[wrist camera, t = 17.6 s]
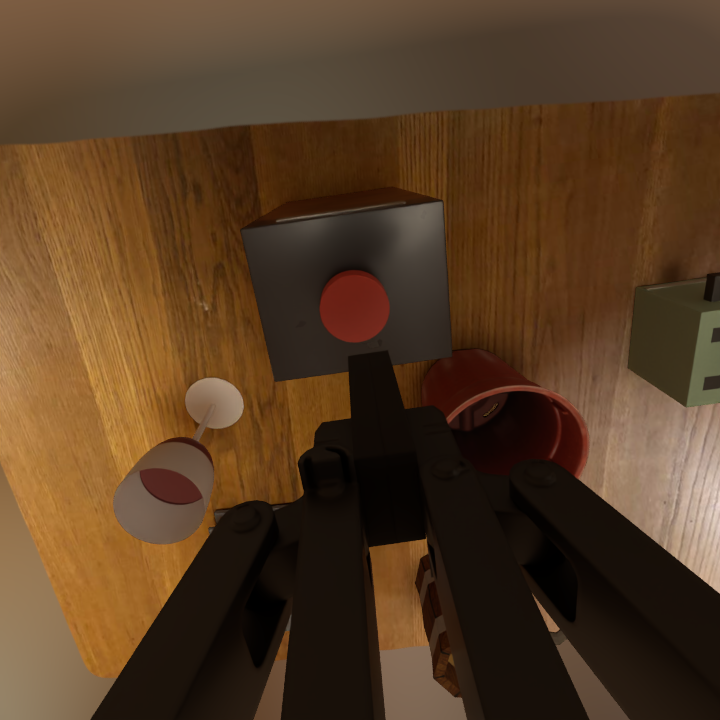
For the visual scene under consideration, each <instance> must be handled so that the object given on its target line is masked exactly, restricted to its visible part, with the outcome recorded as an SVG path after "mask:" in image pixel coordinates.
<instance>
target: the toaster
mask: <svg viewBox="0 0 720 720" xmlns="http://www.w3.org/2000/svg"><path fill="white" fill-rule="evenodd" d="M628 368H629V369H630V370H632V371H633V372H634V373H636V374H637V375H639V376H640V377H642V378H643V379H645V380H646V381H648V382H649V383H651V384H652V385H654V386H655V387H657V388H658V389H660V390H661V391H663V392H664V393H666V394H667V395H669V396H670V397H672V398H673V399H675V400H676V401H677V402H679V403H680V404H682V405H683V406H685V407H693V406H700V405H708V404H715V403H720V272H719V273H712V274H707V277H706V278H699V279H692V280H685V281H678V282H670V283H663V284H656V285H649V286H642V287H636V293H635V303H634V313H633V323H632V332H631V342H630V352H629V362H628Z"/></svg>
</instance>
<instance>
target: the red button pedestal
mask: <svg viewBox="0 0 720 720" xmlns="http://www.w3.org/2000/svg"><path fill="white" fill-rule="evenodd" d="M240 231H241V236H242V240H243V245H244V249H245V253H246V258H247V262H248V267H249V271H250V275H251V280H252V284H253V289H254V293H255V297H256V302H257V306H258V310H259V315H260V319H261V324H262V328H263V332H264V337H265V341H266V346H267V350H268V354H269V359H270V363H271V368H272V372H273V376H274V381H275V382H278V381H285V380H292V379H299V378H306V377H313V376H321V375H328V374H335V373H342V372H349V368H348V356H352V355H359V354H365V353H372V352H379V351H386V350H388V352H389V356H390V359H391V363H392V365H399V364H406V363H413V362H420V361H427V360H434V359H441V358H449V357H452V339H451V322H450V305H449V288H448V271H447V255H446V238H445V221H444V204H443V200H440V199H436V198H433V197H429V196H426V195H422V194H418V193H414V192H410V191H407V190H403V189H399V188H395V187H388V188H381V189H374V190H367V191H361V192H354V193H347V194H340V195H333V196H326V197H319V198H312V199H305V200H298V201H291V202H286V203H284V204H283V205H281V206H279V207H278V208H276V209H274V210H272V211H271V212H269V213H267V214H266V215H264V216H262V217H260V218H259V219H257V220H255V221H254V222H252V223H250V224H249V225H247V226H245V227H244V228H242V229H240ZM348 270H360V271H364V272H367V273H369V274H371V275H373V276H374V277H375V278H377V279H378V280H379V281H380V283H381V284H382V285H383V287H384V289H385V291H386V294H387V296H388V300H389V305H390V311H389V317H388V320H387V322H386V324H385V326H384V327H383V329H382V330H381V331H380V332H379V333H378V334H377V335H376V336H374V337H373V338H371V339H369V340H366V341H362V342H346V341H343V340H340V339H338V338H336V337H335V336H333V335H332V334H331V333H330V332H329V331H328V330H327V329H326V328H325V326H324V324H323V322H322V320H321V317H320V299H321V294H322V291H323V289H324V287H325V286H326V284H327V283H328V282H329V280H330V279H332V278H333V277H334V276H336V275H337V274H339V273H341V272H344V271H348Z"/></svg>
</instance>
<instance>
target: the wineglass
mask: <svg viewBox="0 0 720 720" xmlns="http://www.w3.org/2000/svg"><path fill="white" fill-rule="evenodd" d="M185 404H186V409H187V411H188V413H189V414H190V416H191V417H192V418H193V419H194V420H195V421H196V422H197V423H199V424H200V425H199V427H198V429H197V431H196V433H195V434H194V436H193V438H192V439H191V438H186V437H178V438H172V439H168V440H166V441H164V442H162V443H160V444H158V445H157V446H155V447H154V448H152V449H151V450H150V451H148V452H147V453H146V454H145V455H144V456H143V457H142V458H141V459H140V460H139V461H138V462H137V463H136V465H135V466H134V467H133V468H132V469H131V471H130V472H129V473H128V474H127V476H126V477H125V478H124V480H123V481H122V482H121V484H120V485H119V486H118V488H117V490H116V492H115V496H114V501H113V506H114V512H115V515H116V518H117V520H118V522H119V523H120V524H121V526H122V527H123V528H124V529H125V530H126V531H127V532H128V533H130V534H131V535H132V536H134V537H136V538H138V539H140V540H142V541H145V542H149V543H153V544H171V543H175V542H179V541H181V540H184V539H186V538H187V537H189V536H191V535H192V534H193V533H194V532H195V531H196V530H197V529H198V528H199V526H200V525H201V523H202V521H203V518H204V515H205V512H206V509H207V507H208V503H209V500H210V496H211V493H212V488H213V482H214V466H213V461H212V458H211V455H210V454H209V452H208V450H207V449H206V448H205V447H204V446H203V445H202V444H201V443H200V442H198V441H199V439H200V437H201V436H202V434H203V432H204V430H205V428H206V427H209V428H213V429H219V428H225V427H228V426H231V425H232V424H234V423H235V422H237V421H238V419H239V418H240V417H241V415H242V412H243V408H244V405H243V398H242V396H241V394H240V392H239V391H238V390H237V389H236V388H235V387H234V386H233V385H232V384H230V383H229V382H227V381H225V380H222V379H218V378H205V379H202V380H198V381H197V382H195V383H194V384H193V385H191V386H190V388H189V390H188V391H187V393H186V398H185Z"/></svg>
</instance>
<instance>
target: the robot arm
mask: <svg viewBox="0 0 720 720" xmlns="http://www.w3.org/2000/svg"><path fill="white" fill-rule="evenodd" d="M348 368H349V386H350V404H351V418H350V419H343V420H336V421H330V422H323V423H322V424H321V425H320V426H319V428H318V429H317V430H316V432H315V438H314V447H313V448H311V449H309V450H307V451H306V452H305V453H304V454H303V455H302V456H301V457H300V459H299V461H298V468H299V472H300V476H301V480H302V485H303V489H304V495H303V496H302V497H301V498H299V499H298V500H296V501H295V502H293V503H291V504H289V505H287V506H284V507H282V508H279V509H276V510H274V511H273V508H272V506H271V505H269V504H268V503H267V502H263V501H258V500H256V501H247V502H244V503H241V504H239V505H236V506H235V507H233V508H231V509H230V510H228V511H227V512H226V513H225V514H224V515H223V516H222V517H221V518H220V520H219V521H218V523H217V524H216V526H215V528H214V529H213V531H212V532H211V534H210V535H209V537H208V538H207V540H206V541H205V543H204V545H203V546H202V548H201V549H200V551H199V552H198V554H197V555H196V557H195V558H194V560H193V562H192V563H191V565H190V566H189V568H188V569H187V571H186V572H185V574H184V576H183V577H182V579H181V580H180V582H179V583H178V585H177V586H176V588H175V589H174V591H173V593H172V594H171V596H170V597H169V599H168V600H167V602H166V603H165V605H164V607H163V608H162V610H161V611H160V613H159V614H158V616H157V617H156V619H155V620H154V622H153V624H152V625H151V627H150V628H149V630H148V631H147V633H146V634H145V636H144V637H143V639H142V641H141V642H140V644H139V645H138V647H137V648H136V650H135V651H134V653H133V655H132V656H131V658H130V659H129V661H128V662H127V664H126V665H125V667H124V668H123V670H122V672H121V673H120V675H119V676H118V678H117V679H116V681H115V683H114V684H113V686H112V687H111V689H110V690H109V692H108V694H107V695H106V696H105V698H104V700H103V701H102V703H101V704H100V706H99V707H98V709H97V711H96V712H95V714H94V715H93V716H92V718H91V720H253V719H254V716H255V714H256V711H257V708H258V705H259V702H260V700H261V697H262V694H263V691H264V688H265V686H266V683H267V680H268V677H269V674H270V672H271V669H272V666H273V663H274V660H275V658H276V655H277V652H278V649H279V647H280V644H281V641H282V638H283V635H284V633H285V630H286V627H287V624H288V621H289V619H290V616H291V624H290V634H289V644H288V653H287V663H286V673H285V683H284V693H283V703H282V713H281V720H386V719H385V708H384V697H383V686H382V675H381V663H380V652H379V641H378V630H377V619H376V608H375V597H374V585H373V574H372V563H371V558H370V552H369V547H373V546H380V545H387V544H394V543H401V542H408V541H415V540H422V539H426V537H427V544H428V553H429V562H430V571H431V578H432V577H434V580H435V584H436V588H437V593H438V597H439V601H440V606H441V610H442V614H443V618H444V623H445V627H446V631H447V636H448V640H449V644H450V648H451V653H452V657H453V661H454V666H455V670H456V674H457V678H458V683H459V687H460V691H461V696H462V699H463V704H464V708H465V712H466V717H467V720H589V718H588V716H587V713H586V711H585V709H584V707H583V705H582V702H581V700H580V698H579V696H578V694H577V691H576V689H575V687H574V685H573V683H572V680H571V678H570V676H569V674H568V672H567V669H566V667H565V665H564V663H563V661H562V659H561V656H560V654H559V652H558V650H557V648H556V645H555V643H554V641H553V639H552V637H551V634H550V632H549V630H548V628H547V626H546V623H545V621H544V619H543V617H542V615H541V612H540V610H539V608H538V606H537V604H536V602H535V599H534V597H533V595H534V596H535V597H536V599H537V600H538V601H539V603H540V604H541V605H542V606H543V608H544V609H545V610H546V612H547V613H548V614H549V616H550V617H551V618H552V619H553V621H554V622H555V623H556V625H557V626H558V627H559V628H560V630H561V631H562V632H563V634H564V635H565V636H566V637H567V639H568V640H569V641H570V643H571V644H572V645H573V646H574V648H575V649H576V650H577V652H578V653H579V654H580V655H581V657H582V658H583V659H584V661H585V662H586V663H587V665H588V666H589V667H590V669H591V670H592V671H593V672H594V674H595V675H596V676H597V678H598V679H599V680H600V681H601V683H602V684H603V685H604V687H605V688H606V689H607V691H608V692H609V693H610V694H611V696H612V697H613V698H614V700H615V701H616V702H617V703H618V705H619V706H620V707H621V709H622V710H623V711H624V713H625V714H626V715H627V716H628V718H629V719H630V720H720V594H719V593H718V592H717V591H716V590H714V589H713V588H712V587H711V586H709V585H708V584H707V583H706V582H704V581H703V580H702V579H701V578H700V577H698V576H697V575H696V574H695V573H693V572H692V571H691V570H690V569H688V568H687V567H686V566H685V565H683V564H682V563H681V562H680V561H679V560H677V559H676V558H675V557H674V556H672V555H671V554H670V553H669V552H667V551H666V550H665V549H664V548H662V547H661V546H660V545H659V544H658V543H656V542H655V541H654V540H653V539H651V538H650V537H649V536H648V535H646V534H645V533H644V532H643V531H641V530H640V529H639V528H638V527H637V526H635V525H634V524H633V523H632V522H630V521H629V520H628V519H627V518H625V517H624V516H623V515H622V514H620V513H619V512H618V511H617V510H616V509H614V508H613V507H612V506H611V505H609V504H608V503H607V502H606V501H604V500H603V499H602V498H601V497H599V496H598V495H597V494H596V493H595V492H593V491H592V490H591V489H590V488H588V487H587V486H586V485H585V484H583V483H582V482H581V481H580V480H578V479H577V478H576V477H575V476H574V475H572V474H571V473H570V472H569V471H567V470H566V469H565V468H563V467H562V466H560V465H558V464H557V463H554V462H551V461H548V460H544V459H528V460H523V461H520V462H518V463H516V464H514V465H513V467H512V468H511V469H510V472H509V475H497V474H489V473H484V472H481V471H478V470H476V469H475V468H474V466H473V465H472V463H471V462H470V461H469V460H467V459H465V458H463V456H462V454H461V452H460V449H459V447H458V445H457V442H456V440H455V438H454V436H453V433H452V431H451V429H450V427H449V424H448V423H447V420H446V417H445V415H444V413H443V412H442V411H441V410H439V409H438V408H436V407H435V406H434V405H431V406H424V407H417V408H410V409H404V405H403V402H402V398H401V395H400V391H399V388H398V384H397V380H396V377H395V373H394V370H393V366H392V363H391V359H390V356H389V352H388V350H386V351H379V352H372V353H365V354H359V355H352V356H348ZM425 533H426V534H425ZM531 592H532V593H531ZM532 594H533V595H532ZM291 613H292V614H291Z"/></svg>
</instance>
